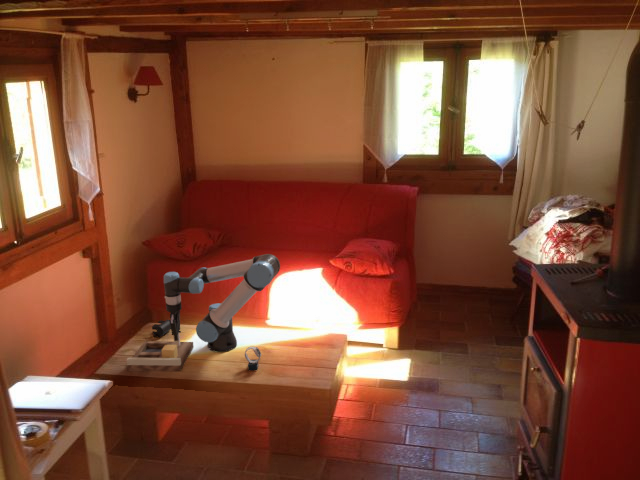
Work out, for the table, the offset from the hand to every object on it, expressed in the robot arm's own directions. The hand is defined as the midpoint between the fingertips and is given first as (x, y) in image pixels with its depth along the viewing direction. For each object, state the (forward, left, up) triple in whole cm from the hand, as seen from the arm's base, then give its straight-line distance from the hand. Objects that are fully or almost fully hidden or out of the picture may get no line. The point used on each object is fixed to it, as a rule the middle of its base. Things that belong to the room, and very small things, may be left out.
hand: (177, 345), depth 303 cm
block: (+1, +11, -2) cm, 11 cm away
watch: (-41, +14, -5) cm, 44 cm away
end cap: (+15, -24, -5) cm, 28 cm away
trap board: (+7, +5, -5) cm, 10 cm away
